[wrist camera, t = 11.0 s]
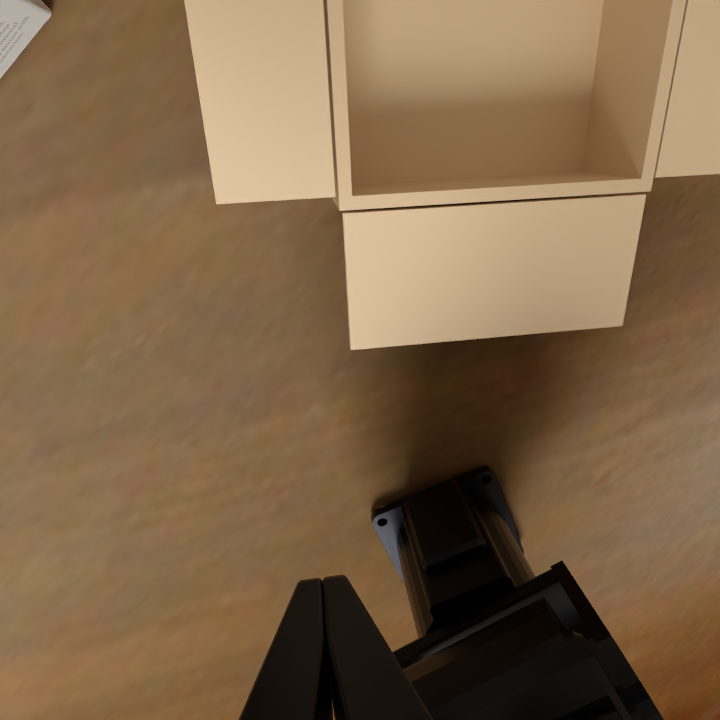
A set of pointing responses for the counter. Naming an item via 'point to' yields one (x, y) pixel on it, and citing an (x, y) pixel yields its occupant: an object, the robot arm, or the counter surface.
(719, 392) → the counter surface
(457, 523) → the robot arm
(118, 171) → the counter surface
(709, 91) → the carton
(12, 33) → the skincare box
